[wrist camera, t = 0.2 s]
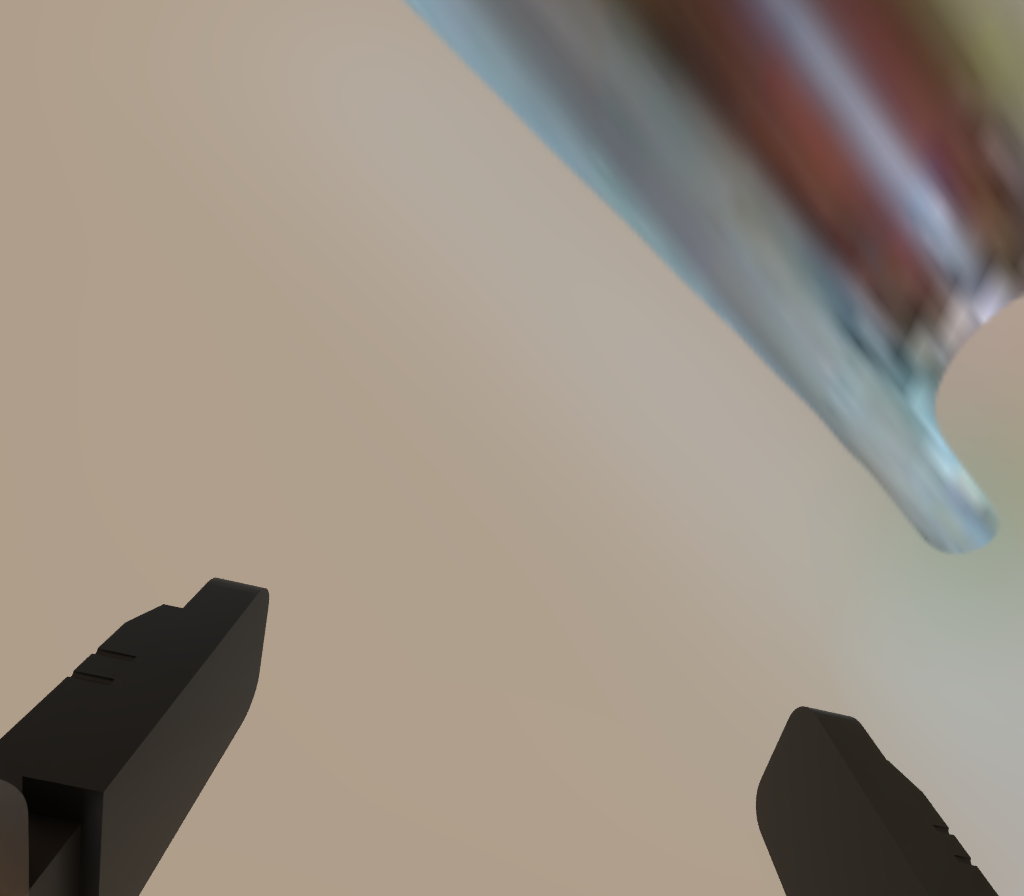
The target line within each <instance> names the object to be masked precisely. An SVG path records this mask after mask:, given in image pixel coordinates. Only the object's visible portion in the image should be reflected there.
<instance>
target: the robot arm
mask: <svg viewBox="0 0 1024 896" xmlns="http://www.w3.org/2000/svg"><path fill="white" fill-rule="evenodd" d="M268 605H269V592H268V590H267V589H266V588H261V587H257V586H252V585H248V584H243V583H238V582H234V581H229V580H224V579H220V578H213V579H211V580H210V581H209V582H208V583H207V584H206V585H205V586H204V587H203V588H202V589H201V590H200V591H199V592H198V593H197V594H196V595H195V596H194V597H193V598H192V599H191V600H190V601H189V602H188V603H187V604H186V605H185V607H184V608H179V607H174V606H169V605H165V604H163V605H161V606H159V607H157V608H155V609H153V610H151V611H149V612H147V613H145V614H142V615H140V616H138V617H136V618H134V619H132V620H130V621H128V622H126V623H125V624H123V625H122V626H121V627H120V628H119V629H118V630H117V631H116V632H115V633H114V634H113V635H112V636H110V638H108V639H107V640H106V641H105V642H104V643H103V644H102V645H101V646H100V647H99V648H98V650H97V652H96V654H91V655H90V656H89V657H88V658H87V659H86V660H85V661H84V662H83V663H81V664H80V665H79V666H78V667H77V668H76V669H75V670H74V672H73V675H72V676H71V677H67V678H65V679H64V680H63V681H62V682H61V683H60V684H59V685H58V686H57V687H56V688H55V689H54V690H52V691H51V692H50V693H49V694H48V695H47V696H46V697H45V698H44V699H43V700H42V701H41V702H40V703H39V704H37V705H36V706H35V707H34V708H33V709H32V710H31V711H30V712H29V713H28V714H27V715H26V716H25V717H23V718H22V720H20V721H19V722H18V723H17V724H16V725H15V726H14V727H13V728H12V729H11V730H10V731H9V732H7V733H6V734H5V735H4V736H3V737H2V738H1V739H0V896H139V894H140V893H141V891H142V889H143V888H144V886H145V884H146V883H147V881H148V879H149V878H150V876H151V874H152V873H153V871H154V869H155V868H156V866H157V864H158V863H159V861H160V859H161V858H162V856H163V854H164V853H165V851H166V849H167V848H168V846H169V844H170V843H171V841H172V839H173V838H174V836H175V834H176V833H177V831H178V829H179V827H180V826H181V824H182V823H183V821H184V819H185V817H186V816H187V814H188V812H189V811H190V809H191V808H192V806H193V804H194V803H195V801H196V799H197V797H198V796H199V794H200V793H201V791H202V789H203V788H204V786H205V784H206V782H207V781H208V779H209V777H210V776H211V774H212V773H213V771H214V769H215V767H216V766H217V764H218V762H219V761H220V759H221V758H222V756H223V754H224V753H225V751H226V749H227V748H228V746H229V744H230V743H231V741H232V739H233V738H234V736H235V734H236V732H237V730H238V729H239V727H240V726H241V724H242V722H243V721H244V719H245V717H246V715H247V712H248V710H249V708H250V705H251V702H252V699H253V697H254V694H255V690H256V687H257V683H258V678H259V672H260V665H261V657H262V650H263V642H264V635H265V628H266V620H267V613H268ZM756 814H757V821H758V825H759V829H760V831H761V834H762V837H763V839H764V842H765V844H766V846H767V849H768V851H769V854H770V856H771V859H772V861H773V864H774V866H775V869H776V871H777V874H778V876H779V879H780V881H781V884H782V886H783V888H784V891H785V893H786V896H998V894H997V893H996V892H995V890H994V889H993V888H992V886H991V885H990V883H989V882H988V881H987V879H986V878H985V877H984V875H983V874H982V873H981V871H980V870H979V868H978V867H977V866H973V865H971V861H970V860H971V858H970V856H969V855H968V853H967V852H966V851H965V850H964V848H963V847H962V845H961V844H960V843H959V841H958V840H957V838H956V837H955V836H954V835H950V834H949V832H948V829H949V828H948V826H947V825H946V823H945V822H944V821H943V819H942V818H941V817H940V815H939V814H938V813H937V811H936V810H935V809H934V807H933V806H932V804H931V803H930V802H929V800H928V799H927V798H926V796H925V795H924V794H923V792H922V791H920V790H919V789H918V788H917V787H916V786H915V785H914V784H913V783H912V782H911V781H910V780H909V779H907V778H906V777H905V776H904V775H903V774H902V773H901V772H900V771H899V770H898V769H896V768H895V767H894V766H893V765H892V764H891V763H890V762H889V761H887V760H886V758H885V757H884V756H883V754H882V753H881V752H880V750H879V749H878V747H877V746H876V745H875V743H874V742H873V740H872V739H871V737H870V736H869V735H868V733H867V732H866V730H865V729H864V727H863V726H862V725H861V724H860V722H859V721H857V720H856V719H855V718H853V717H850V716H846V715H841V714H836V713H832V712H827V711H822V710H818V709H813V708H809V707H799V708H797V709H795V710H794V711H793V713H792V714H791V715H790V717H789V719H788V721H787V723H786V726H785V728H784V730H783V732H782V734H781V737H780V739H779V741H778V743H777V745H776V748H775V750H774V752H773V754H772V756H771V758H770V761H769V763H768V765H767V767H766V769H765V772H764V774H763V776H762V778H761V781H760V783H759V786H758V790H757V797H756Z"/></svg>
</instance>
